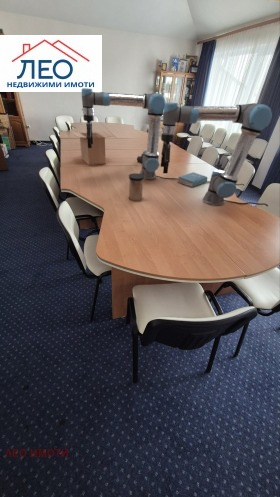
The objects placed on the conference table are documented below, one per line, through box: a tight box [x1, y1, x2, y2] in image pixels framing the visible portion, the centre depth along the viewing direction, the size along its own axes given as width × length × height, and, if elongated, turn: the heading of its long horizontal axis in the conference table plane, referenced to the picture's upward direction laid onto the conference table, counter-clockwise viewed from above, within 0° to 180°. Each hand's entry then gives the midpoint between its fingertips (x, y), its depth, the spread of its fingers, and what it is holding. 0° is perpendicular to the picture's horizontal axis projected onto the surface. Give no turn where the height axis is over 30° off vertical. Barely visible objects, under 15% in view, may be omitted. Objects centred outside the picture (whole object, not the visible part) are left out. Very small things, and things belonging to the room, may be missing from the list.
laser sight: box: [136, 153, 143, 164], centre depth 240 cm, size 10×22×10 cm, turn 78°
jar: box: [128, 179, 144, 202], centre depth 162 cm, size 10×10×16 cm
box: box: [70, 129, 114, 166], centre depth 229 cm, size 44×36×27 cm
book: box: [177, 171, 208, 188], centre depth 200 cm, size 23×16×5 cm
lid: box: [128, 172, 145, 181], centre depth 157 cm, size 11×11×2 cm
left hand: (90, 146), depth 173 cm, fingers open, 13 cm apart
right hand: (163, 169), depth 144 cm, fingers open, 13 cm apart
